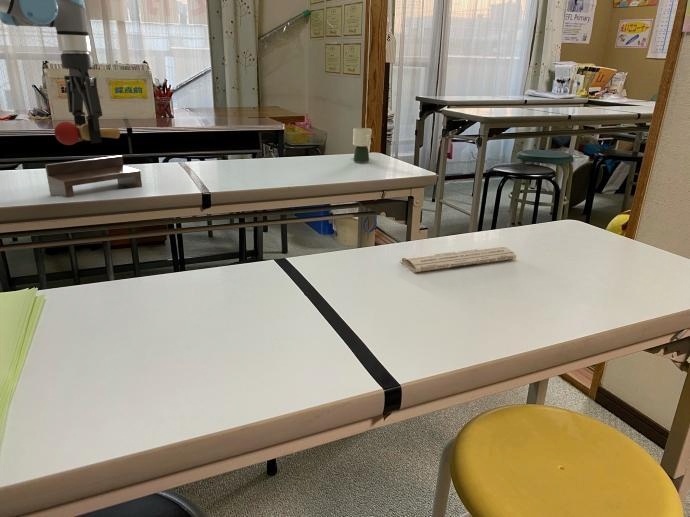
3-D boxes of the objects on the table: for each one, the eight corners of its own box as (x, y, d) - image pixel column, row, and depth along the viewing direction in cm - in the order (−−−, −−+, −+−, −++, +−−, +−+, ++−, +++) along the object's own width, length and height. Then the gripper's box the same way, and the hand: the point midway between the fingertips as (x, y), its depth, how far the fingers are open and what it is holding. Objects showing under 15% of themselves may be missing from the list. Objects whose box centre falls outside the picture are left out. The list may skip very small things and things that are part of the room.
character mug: (375, 164, 202) (377, 130, 198) (359, 165, 199) (361, 131, 195) (362, 159, 211) (363, 126, 207) (347, 160, 208) (348, 127, 204)
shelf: (67, 201, 140) (62, 170, 136) (50, 194, 146) (44, 164, 143) (142, 188, 155) (139, 160, 152) (123, 182, 162) (120, 155, 159)
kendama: (107, 141, 153) (46, 139, 138) (109, 119, 151) (48, 116, 136) (123, 148, 150) (63, 148, 135) (126, 127, 148) (65, 124, 133)
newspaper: (415, 274, 98) (416, 265, 98) (398, 261, 104) (399, 253, 104) (515, 260, 107) (517, 252, 106) (494, 249, 113) (495, 241, 112)
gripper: (108, 53, 132) (120, 144, 140) (73, 52, 144) (86, 135, 152) (78, 53, 127) (93, 147, 135) (45, 52, 139) (60, 138, 147)
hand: (89, 141), depth 144 cm, fingers closed on kendama, 7 cm apart
